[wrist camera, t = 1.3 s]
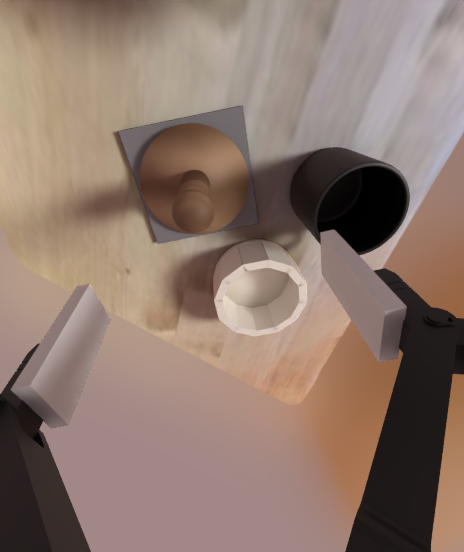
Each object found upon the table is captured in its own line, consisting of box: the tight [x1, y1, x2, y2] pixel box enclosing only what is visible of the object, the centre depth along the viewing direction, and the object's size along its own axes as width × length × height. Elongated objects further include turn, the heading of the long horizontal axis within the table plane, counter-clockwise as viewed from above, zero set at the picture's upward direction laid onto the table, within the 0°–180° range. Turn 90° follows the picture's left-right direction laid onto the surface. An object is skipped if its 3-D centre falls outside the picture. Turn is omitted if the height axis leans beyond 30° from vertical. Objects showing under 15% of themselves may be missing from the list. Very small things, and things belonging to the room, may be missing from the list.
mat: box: [118, 106, 258, 244], centre depth 33 cm, size 13×13×1 cm
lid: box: [140, 123, 249, 234], centre depth 28 cm, size 12×12×12 cm
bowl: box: [213, 239, 307, 336], centre depth 38 cm, size 12×12×6 cm
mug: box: [290, 147, 410, 255], centre depth 32 cm, size 9×12×9 cm
